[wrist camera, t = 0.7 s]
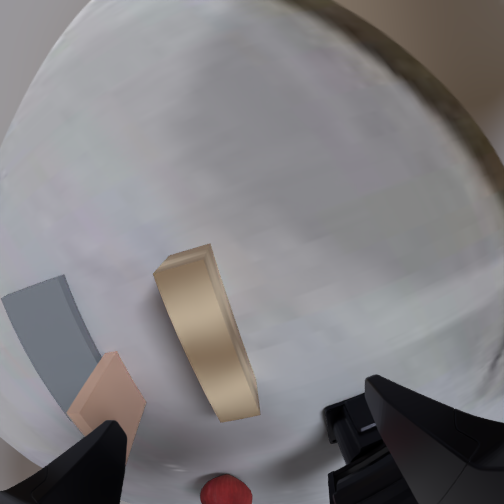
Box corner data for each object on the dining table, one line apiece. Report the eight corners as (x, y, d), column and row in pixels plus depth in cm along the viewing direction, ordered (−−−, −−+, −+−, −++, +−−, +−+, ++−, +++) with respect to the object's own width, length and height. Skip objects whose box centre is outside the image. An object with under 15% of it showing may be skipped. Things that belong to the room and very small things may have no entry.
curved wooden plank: (255, 378, 22) (260, 414, 17) (222, 385, 22) (220, 422, 17) (210, 242, 19) (203, 259, 15) (170, 254, 19) (152, 273, 15)
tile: (146, 402, 22) (125, 466, 14) (132, 403, 22) (108, 465, 14) (116, 351, 20) (79, 413, 13) (102, 353, 20) (63, 412, 13)
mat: (136, 414, 22) (134, 421, 21) (73, 415, 22) (70, 420, 21) (64, 274, 19) (57, 278, 18) (6, 295, 19) (0, 298, 18)
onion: (196, 479, 25) (192, 529, 17) (210, 459, 24) (208, 516, 16) (239, 487, 26) (242, 535, 18) (258, 468, 25) (264, 522, 17)
